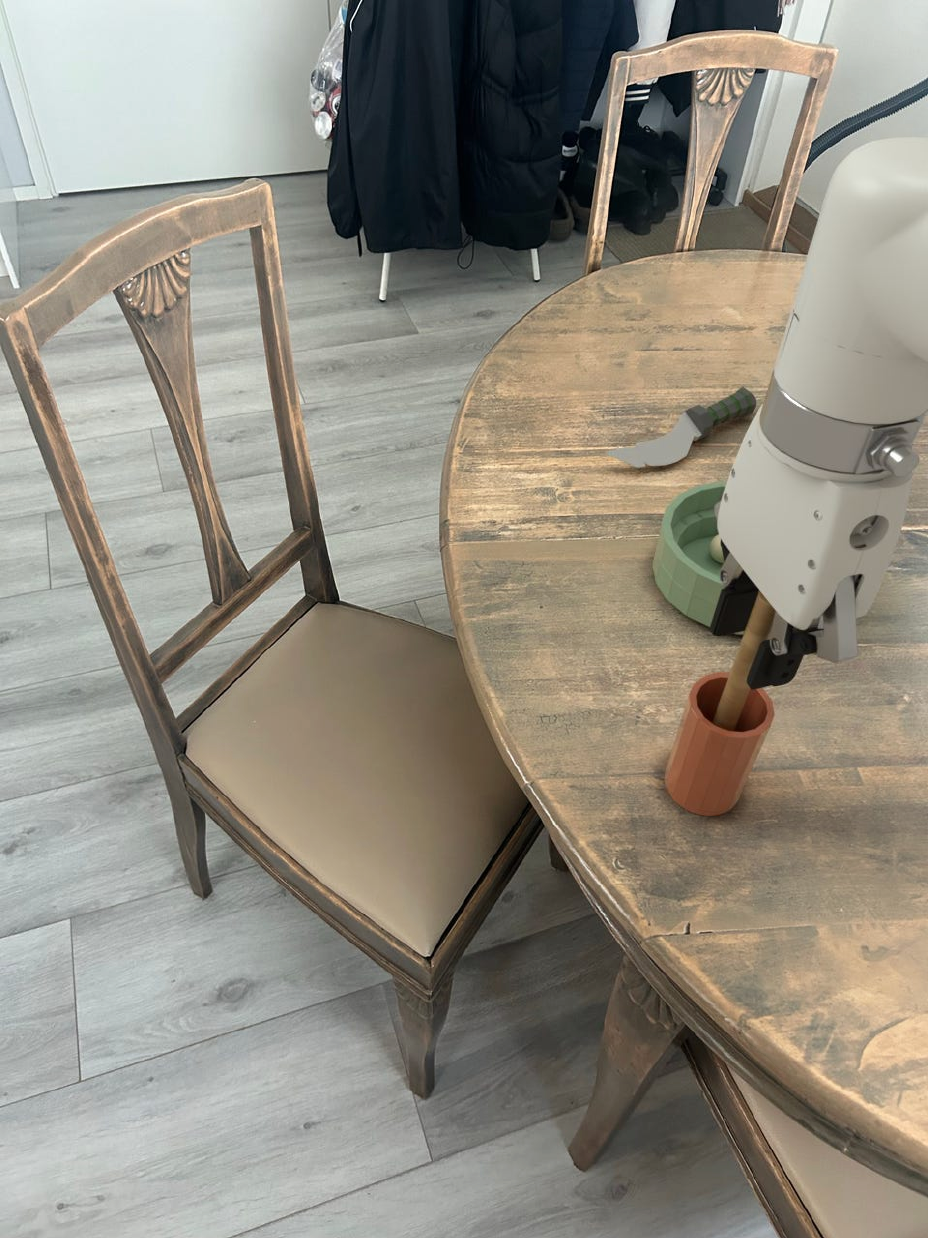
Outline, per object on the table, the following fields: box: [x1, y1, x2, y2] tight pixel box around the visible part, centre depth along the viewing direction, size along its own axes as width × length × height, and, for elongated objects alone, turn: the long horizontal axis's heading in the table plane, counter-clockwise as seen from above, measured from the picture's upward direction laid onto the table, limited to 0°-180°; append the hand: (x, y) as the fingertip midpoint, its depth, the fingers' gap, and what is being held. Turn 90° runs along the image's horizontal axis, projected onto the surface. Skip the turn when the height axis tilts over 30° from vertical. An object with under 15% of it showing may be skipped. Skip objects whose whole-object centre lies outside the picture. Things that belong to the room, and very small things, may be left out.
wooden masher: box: [712, 591, 775, 731], centre depth 61 cm, size 3×2×20 cm, turn 17°
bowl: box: [651, 481, 745, 636], centre depth 83 cm, size 16×16×6 cm
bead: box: [710, 534, 724, 563], centre depth 85 cm, size 3×3×3 cm
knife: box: [604, 386, 757, 469], centre depth 99 cm, size 22×4×5 cm
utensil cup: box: [664, 671, 776, 817], centre depth 65 cm, size 6×6×10 cm
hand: (750, 653), depth 58 cm, fingers open, 4 cm apart
